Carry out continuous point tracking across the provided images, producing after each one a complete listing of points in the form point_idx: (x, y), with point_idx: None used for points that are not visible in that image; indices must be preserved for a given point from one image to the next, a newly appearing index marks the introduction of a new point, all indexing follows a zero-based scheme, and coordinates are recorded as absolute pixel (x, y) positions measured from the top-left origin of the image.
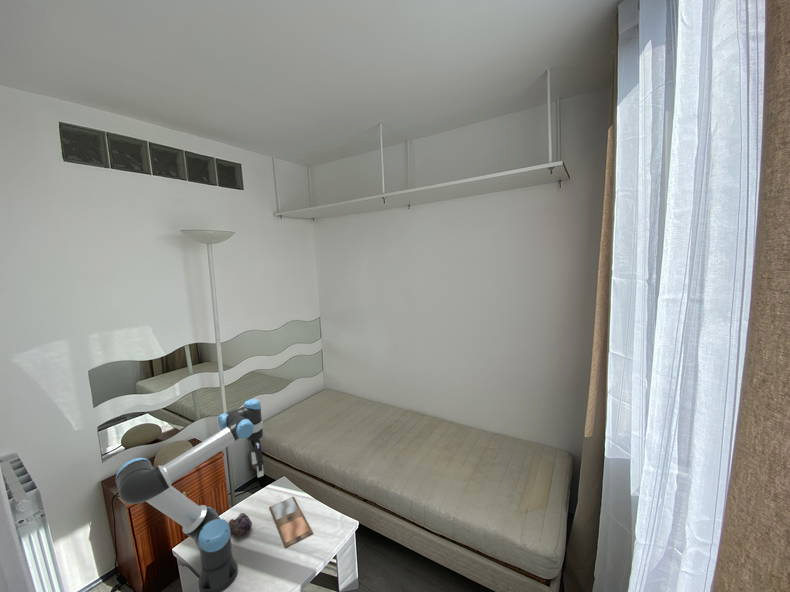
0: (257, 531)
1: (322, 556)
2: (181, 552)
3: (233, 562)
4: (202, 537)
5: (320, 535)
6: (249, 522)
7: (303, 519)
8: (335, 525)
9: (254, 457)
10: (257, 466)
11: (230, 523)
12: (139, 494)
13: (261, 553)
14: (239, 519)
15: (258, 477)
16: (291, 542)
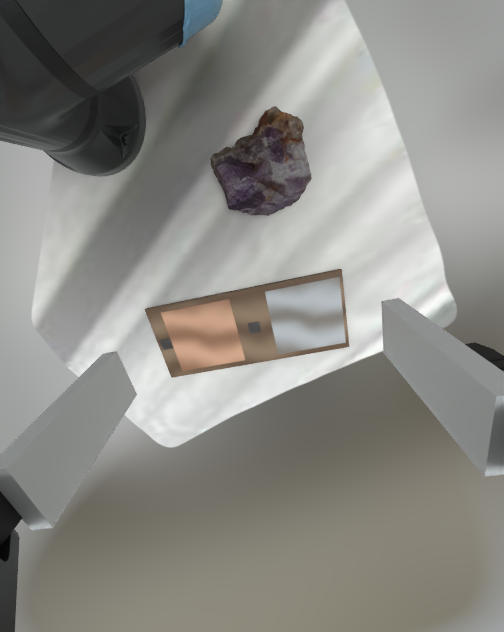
0: (245, 231)
1: None
2: None
3: (65, 160)
4: None
5: (162, 388)
6: (256, 207)
7: (230, 362)
8: (182, 421)
9: (424, 368)
10: (10, 454)
11: (280, 124)
12: None
13: (148, 245)
14: (262, 166)
15: (103, 358)
16: (156, 326)
